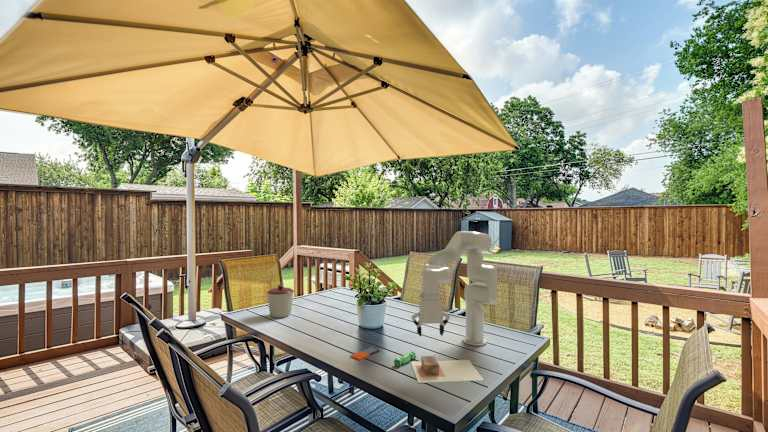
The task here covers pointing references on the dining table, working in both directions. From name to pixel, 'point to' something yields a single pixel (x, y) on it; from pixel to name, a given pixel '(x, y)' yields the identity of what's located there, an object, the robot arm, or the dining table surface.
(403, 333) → the dining table surface
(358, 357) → the orange grey slab
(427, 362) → the walnut card box
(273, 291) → the canister
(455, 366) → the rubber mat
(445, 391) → the dining table surface
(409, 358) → the candy
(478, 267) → the robot arm
